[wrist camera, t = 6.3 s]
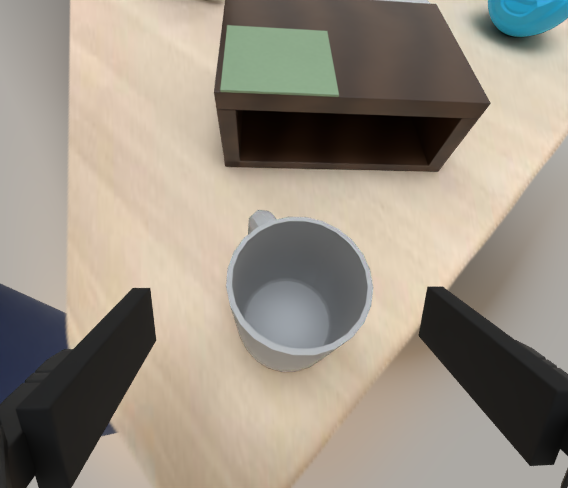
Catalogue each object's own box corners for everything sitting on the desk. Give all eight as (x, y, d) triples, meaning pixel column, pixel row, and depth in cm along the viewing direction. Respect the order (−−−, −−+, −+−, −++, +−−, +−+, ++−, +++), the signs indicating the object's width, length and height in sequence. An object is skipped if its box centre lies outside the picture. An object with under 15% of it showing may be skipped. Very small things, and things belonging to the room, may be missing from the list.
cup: (259, 391, 20) (258, 384, 12) (214, 266, 24) (192, 200, 16) (351, 347, 22) (401, 317, 14) (294, 237, 26) (309, 166, 18)
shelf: (225, 166, 29) (213, 89, 22) (233, 68, 37) (226, -13, 29) (438, 171, 31) (493, 101, 24) (404, 76, 38) (437, 1, 31)
